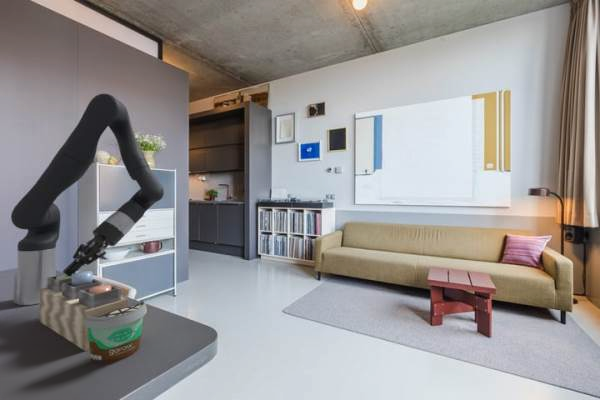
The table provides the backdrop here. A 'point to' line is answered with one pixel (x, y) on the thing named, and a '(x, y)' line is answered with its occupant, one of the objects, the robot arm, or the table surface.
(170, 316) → the table surface
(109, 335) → the food container
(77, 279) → the slate button
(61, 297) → the button console
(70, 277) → the sage button
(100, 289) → the peach rounded knob
